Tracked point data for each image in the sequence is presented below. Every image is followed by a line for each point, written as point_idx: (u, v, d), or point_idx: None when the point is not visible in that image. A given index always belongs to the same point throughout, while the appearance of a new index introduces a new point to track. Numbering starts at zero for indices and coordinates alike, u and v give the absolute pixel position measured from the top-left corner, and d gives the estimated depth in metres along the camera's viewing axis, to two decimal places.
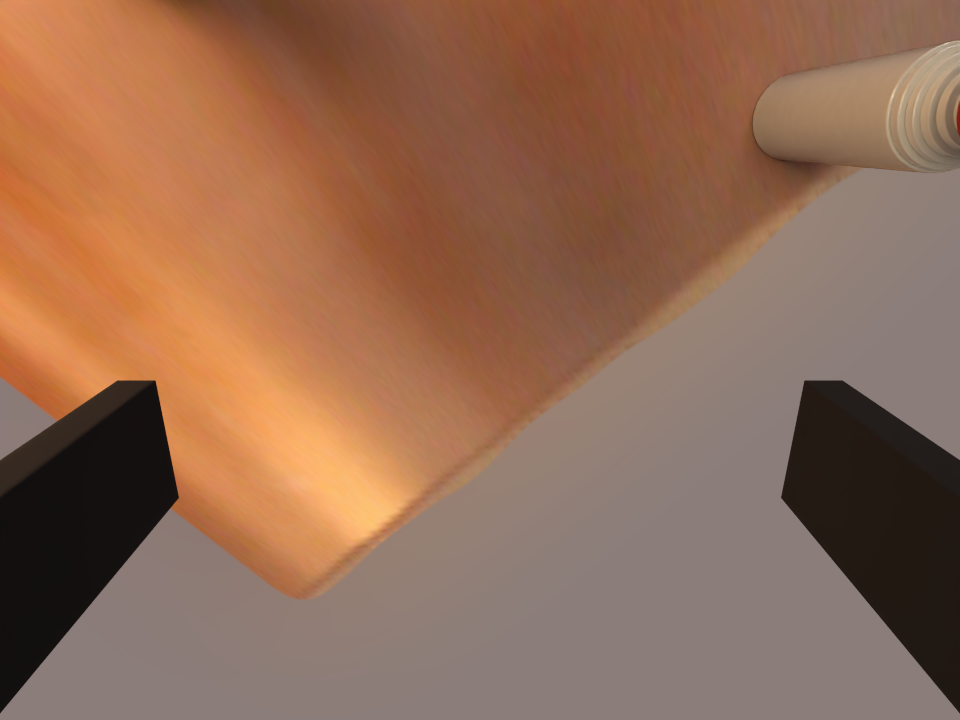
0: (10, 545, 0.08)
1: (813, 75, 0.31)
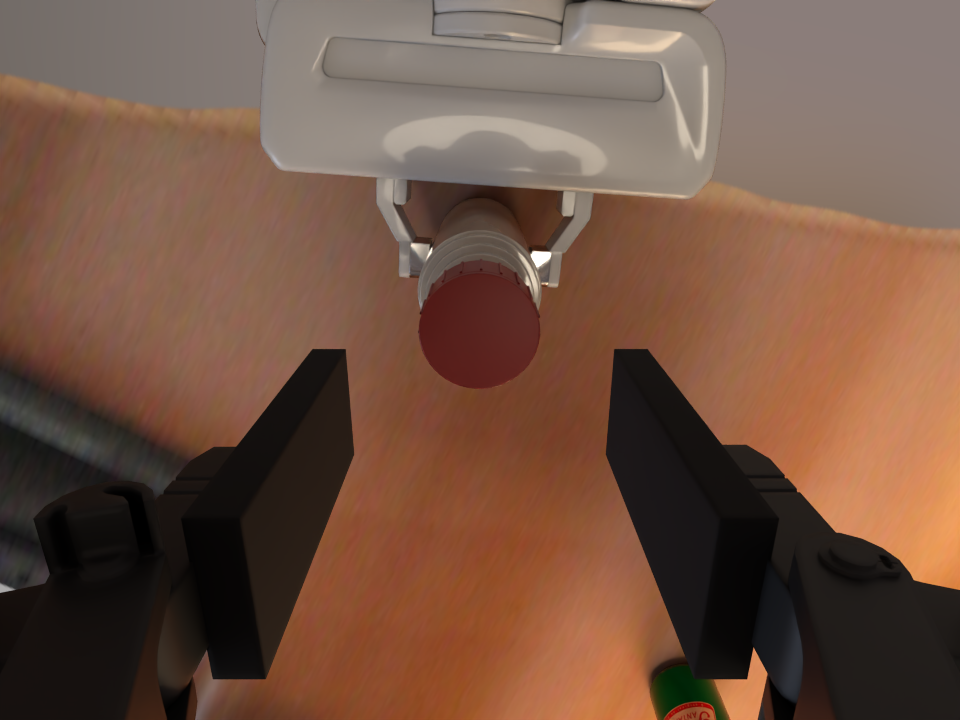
0: (296, 473, 0.10)
1: None
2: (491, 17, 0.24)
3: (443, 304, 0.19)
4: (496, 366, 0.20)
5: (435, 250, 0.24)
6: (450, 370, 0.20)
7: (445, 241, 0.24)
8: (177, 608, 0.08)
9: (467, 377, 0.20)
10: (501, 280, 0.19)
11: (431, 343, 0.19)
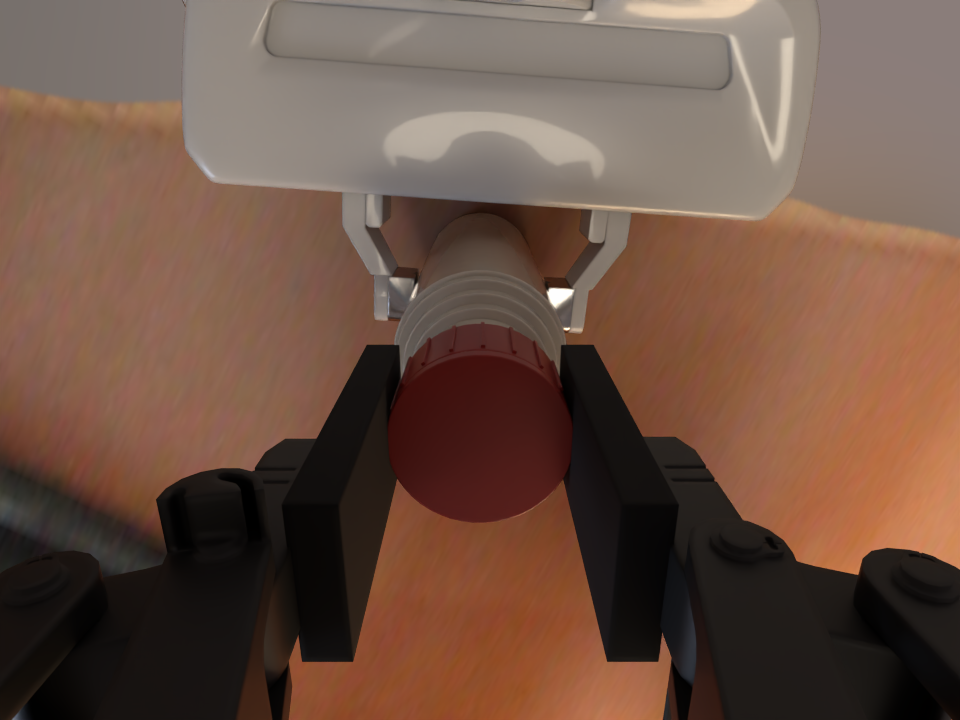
0: (370, 464, 0.10)
1: None
2: None
3: (423, 401, 0.12)
4: (506, 491, 0.13)
5: (417, 298, 0.17)
6: (435, 497, 0.13)
7: (431, 286, 0.17)
8: (279, 595, 0.08)
9: (461, 507, 0.13)
10: (514, 366, 0.12)
11: (405, 458, 0.13)
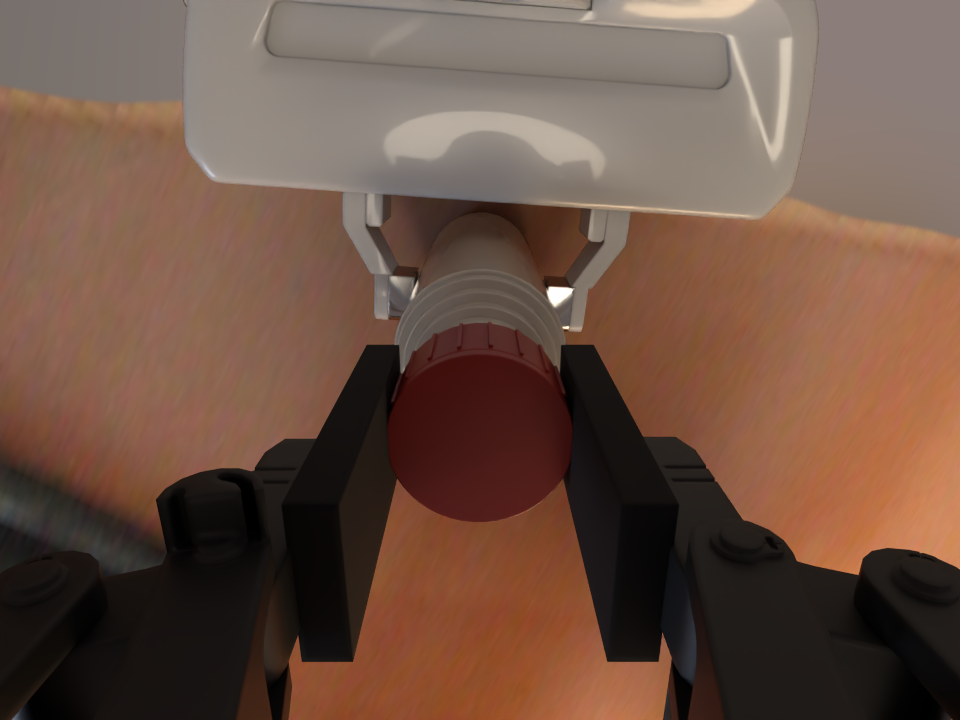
0: (370, 464, 0.10)
1: None
2: None
3: (435, 490, 0.13)
4: (536, 418, 0.12)
5: (417, 297, 0.17)
6: (540, 483, 0.13)
7: (431, 284, 0.17)
8: (279, 595, 0.08)
9: (553, 460, 0.13)
10: (394, 413, 0.12)
11: (495, 507, 0.13)
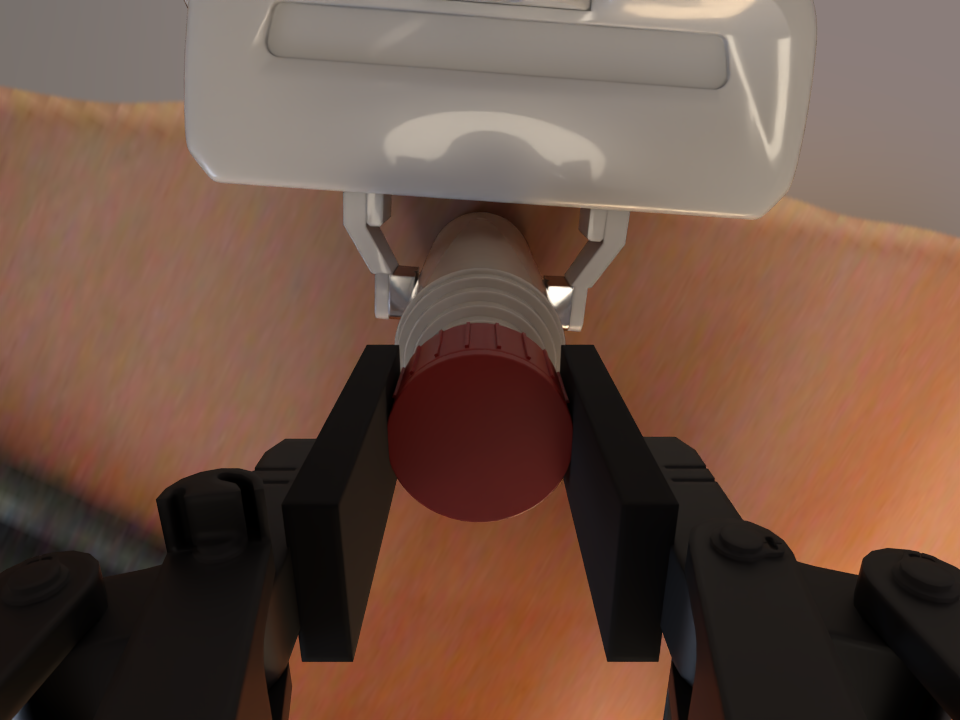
0: (370, 464, 0.10)
1: None
2: None
3: (533, 483, 0.13)
4: (452, 392, 0.12)
5: (418, 296, 0.17)
6: (527, 386, 0.12)
7: (432, 283, 0.17)
8: (279, 595, 0.08)
9: (500, 374, 0.12)
10: (447, 513, 0.13)
11: (555, 428, 0.12)
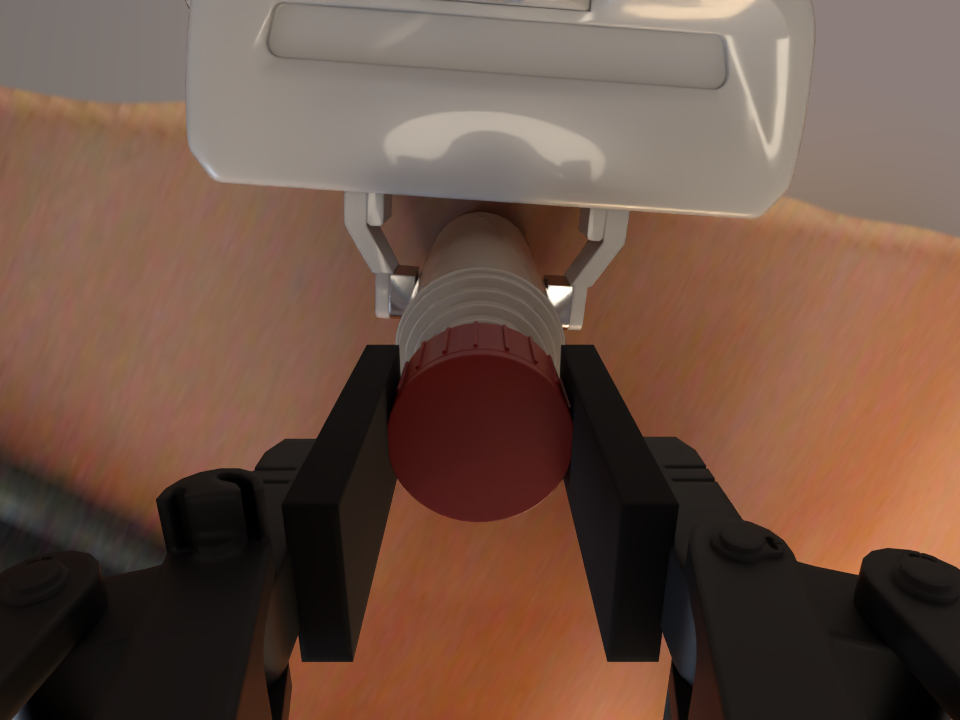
0: (370, 464, 0.10)
1: None
2: None
3: (528, 392, 0.12)
4: (425, 466, 0.13)
5: (418, 295, 0.17)
6: (417, 401, 0.12)
7: (432, 283, 0.17)
8: (279, 595, 0.08)
9: (405, 425, 0.12)
10: (561, 472, 0.13)
11: (463, 373, 0.12)
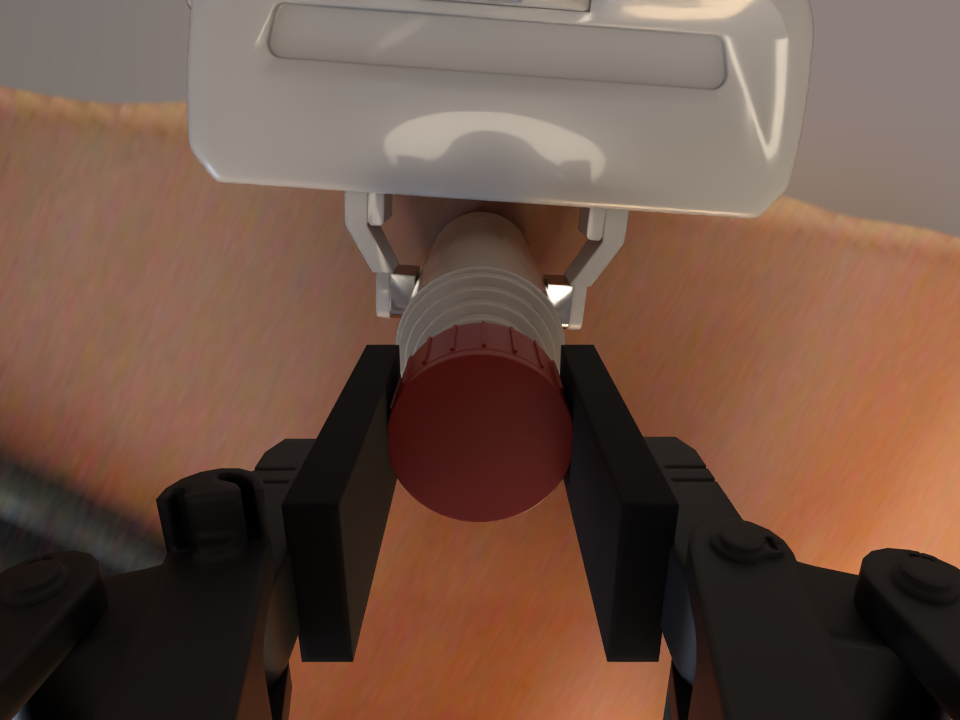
0: (370, 464, 0.10)
1: None
2: None
3: (424, 400, 0.12)
4: (506, 490, 0.13)
5: (419, 294, 0.17)
6: (435, 496, 0.13)
7: (432, 282, 0.17)
8: (279, 595, 0.08)
9: (461, 506, 0.13)
10: (516, 365, 0.12)
11: (405, 457, 0.13)
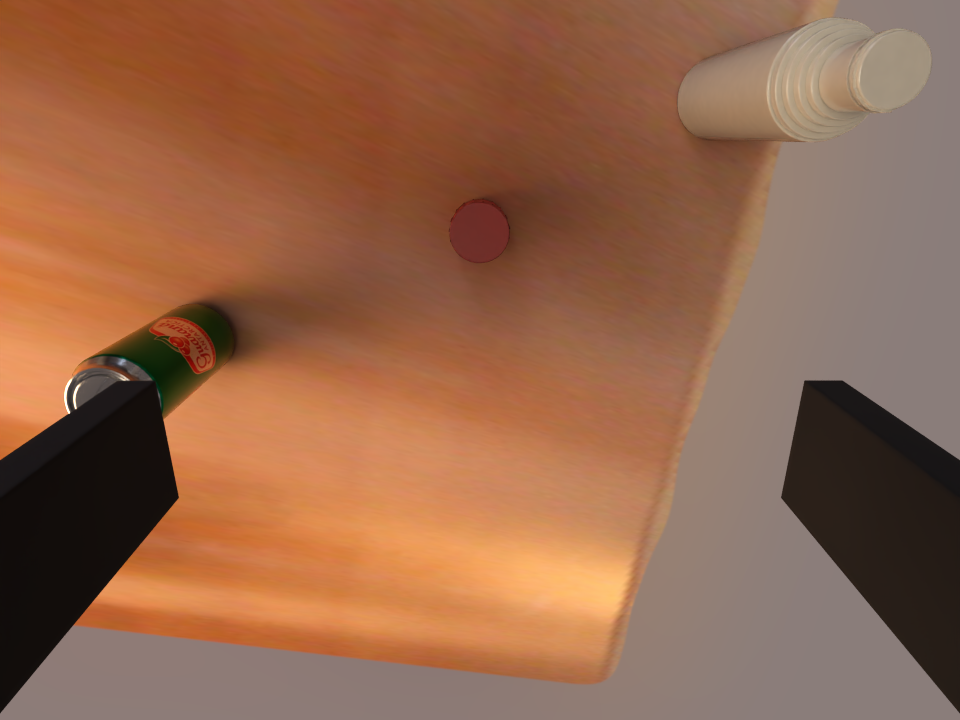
0: (10, 545, 0.08)
1: (704, 84, 0.34)
2: None
3: (464, 250, 0.40)
4: (497, 224, 0.39)
5: None
6: (498, 248, 0.40)
7: None
8: None
9: (502, 239, 0.39)
10: (452, 222, 0.39)
11: (484, 257, 0.40)
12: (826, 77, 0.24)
